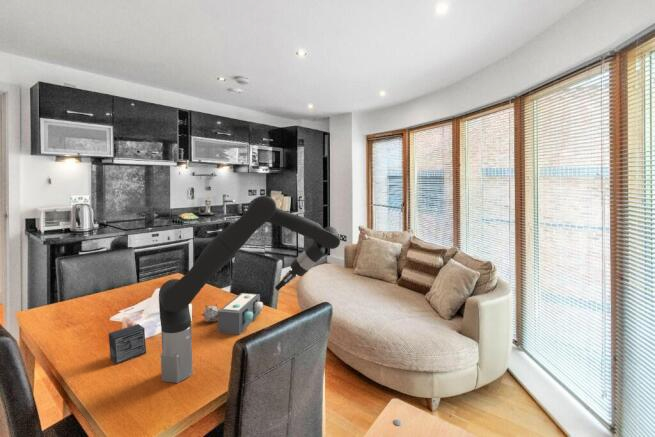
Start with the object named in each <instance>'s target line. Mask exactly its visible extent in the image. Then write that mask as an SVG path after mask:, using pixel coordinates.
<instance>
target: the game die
mask: <svg viewBox="0 0 655 437" xmlns="http://www.w3.org/2000/svg"><path fill="white" fill-rule="evenodd" d="M217 306H218V303H216V304H215V305H209V306H207V305H206V304H205V308H204V311H203V313H202V314H201V316H203V317H204V321H205V324H207V323H210V322H216V323H218V311H219V309H218V307H217Z"/></svg>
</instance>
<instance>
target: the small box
mask: <svg viewBox="0 0 655 437" xmlns="http://www.w3.org/2000/svg"><path fill="white" fill-rule="evenodd" d="M145 333H146V332H145V327H143V326H142V325H141V324H139V323H137V324H134V325H131V326H127V327H124V328H121V329H118V330H115V331H112V332H108V343H109V344H108V345H109V355H110V361H112V362H113V364H114V365H116V364H117V365H119V363H120V364H122V363H124V361H125V362H127V361H130V360H132V358H133V359H135V358H137V357H140V356H143V355H145V354H147V346H146V345H147V344H146V334H145Z"/></svg>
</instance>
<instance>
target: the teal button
mask: <svg viewBox="0 0 655 437" xmlns="http://www.w3.org/2000/svg"><path fill="white" fill-rule="evenodd" d="M252 319H253V312H249V311H245V312H244V315H243V321H246V322H251V321H252ZM252 322H253V321H252ZM252 322H251V323H252Z"/></svg>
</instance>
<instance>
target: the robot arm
mask: <svg viewBox="0 0 655 437" xmlns="http://www.w3.org/2000/svg"><path fill="white" fill-rule="evenodd" d="M266 223H269V224H272V225H273V224H274V225H277V226H279V227H283V228H285V229H287V230H290V231H292V232H294V233H296V234H299V235H301V236H304V237H305V238H309V239H310V240H313V242H312V244H310V246H308V247H307V248H306V249H305V250H304V251H302V252H301V253H300V254H299V255H298V256H297V257H296V258H295V259H293V261H292V262H291V263H290V269H289V270H288V271H287V272H286V274H285V275H284V276H283V277H282V279H281V280H279V282H278V283H277V285H275V287H274V288H275V289H276V291H277V292H278V291H280V290H281V289H282V288H283V287H285V286H286V285H288V284H289V283H290V282H291V281H293V280H294V279H295V278H296V277H297V276H299V277H304V276H305V274H306V273H308V272H309V270H311V269H312V268H313V267H314V266H315V265H316V264H317V262H319V261H320V260H321V259H322V258H323V257H324V256H325V252H326V249H330V250H335V249H337V248H339V246H340V245H341V238H340V236H339V233H338V232H337V229H336V228H335V227H333V226H326V227H324V228H323V227H322V225H320V223H318V222H316V221H314V220H311V219H309V218H307V217H304V216H301V215H297V214H294V213H292V212H287V211H285V210H283V209H280V208H278V207H277V204H276V201H275V199H274V198H273V197H271V196H268V195H260V196H257V197H254V198H253V199H252V200H251V201H250V202H249V203H248V207H247V210H246V211H245V212H244V213H243V215H241V216H240V217H239V218H238V219H237V220H236V221H235V222H233V223H232V224H230V225H229V226H227V227H226V228H224V229H223V230H222V231H221V232H219V233H218V234H217V235H216V236H215V237H214V238H213V239H212V240H211V241H210V242H208V244H207V245H206V246H205V247H204V248H203V250H202V252H201V253H200V255H199V256H198V258H197V259H196V261H195V262H194V264H193V266H192V267H191V268H190V269H189V270H188V272H187V273H186V274H184V275H183V276H182V277H181V278H171V279H169V280H167V281H166V282H164V283H163V284H162V285H161V286H160V288H159V291H158V306H159V307H158V308H159V319H160V320H159V321H160V327H161V328H160V329H161V347H162V348H161V349H162V352H161V354H160V367H161V368H160V370H161V382H167V383H175V384H179V383H180V382H182V381H184V380H186V379H188V378H189V377H191V375H193V371H194V369H193V367H194V366H193V344H192V343H193V342H192V340H193V338H192V318H191V313H190V304H191V303H192V302H193V300H195V298H196V296H197V295H198V294H199V292H201V290H202V289H203V288H204V287H205V285H206V284H207V283H208V282H209V281H210V280H211V279H212V278H214V276H215V275H217V273H218V272H220V270H221V269H223V267H224V266H226V265H227V264H228V262H229V261H230V260H231V259H232V258H233V257H234V256H235V255H236V254H237V253H238V252H239V251H240V250H241V248H243V246H244V245H245V244H246V243H247V242H248V240H249V239H250V238H251V237H252V236H253V235H254V234H255V232H257V231H258V230H259V229H260V228H261V227H262V226H263V225H264V224H266Z"/></svg>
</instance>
